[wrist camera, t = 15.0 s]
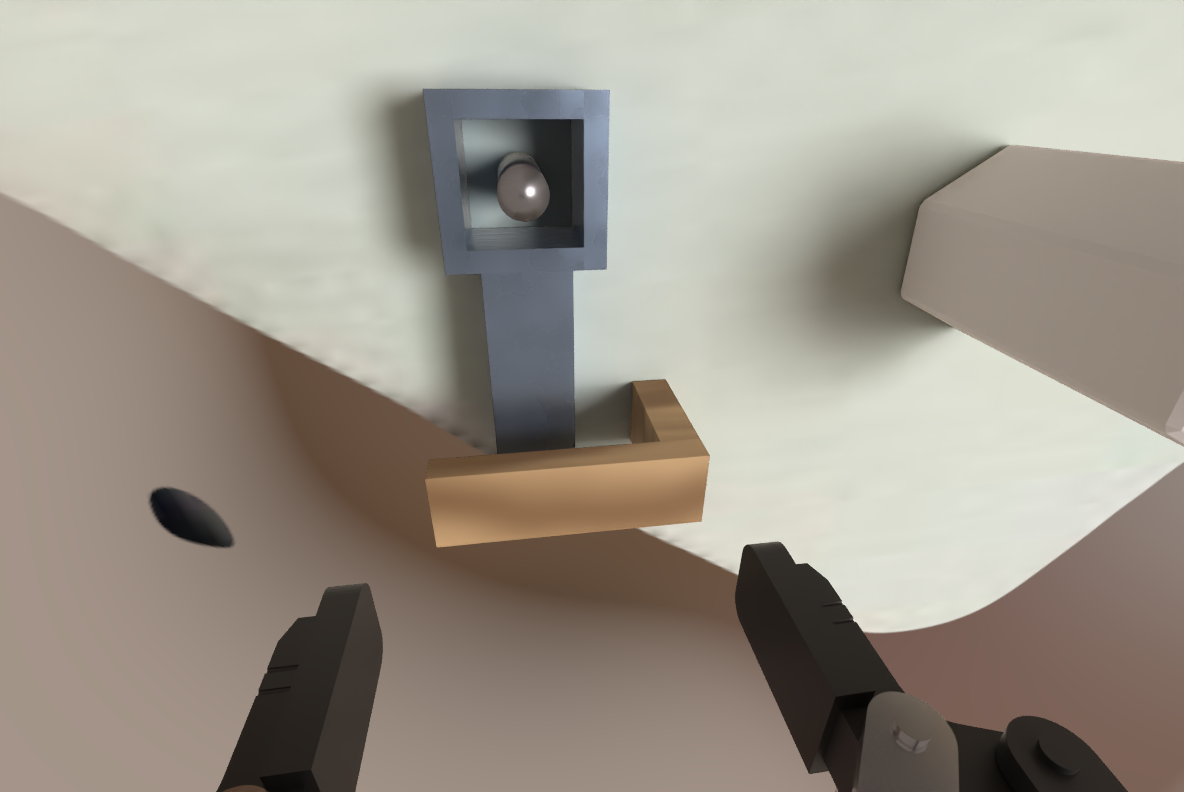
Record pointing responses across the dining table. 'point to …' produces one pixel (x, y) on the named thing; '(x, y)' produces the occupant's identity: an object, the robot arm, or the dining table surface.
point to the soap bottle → (1065, 272)
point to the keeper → (577, 482)
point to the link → (525, 257)
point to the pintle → (521, 187)
